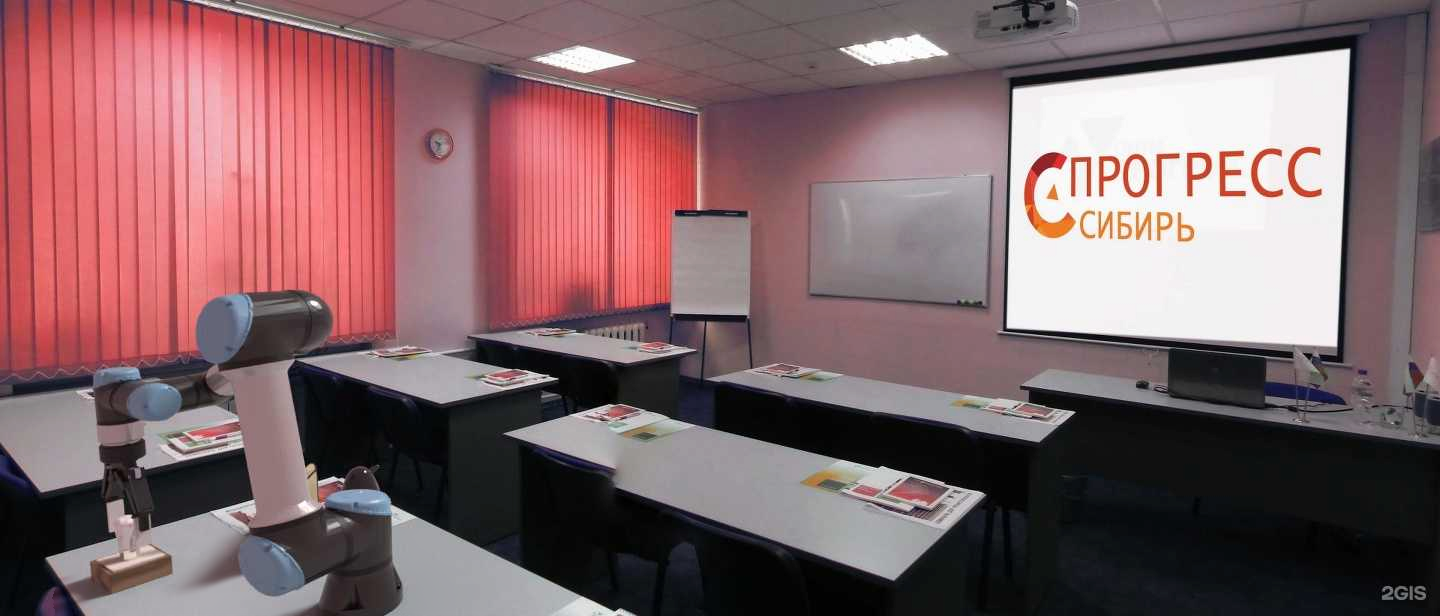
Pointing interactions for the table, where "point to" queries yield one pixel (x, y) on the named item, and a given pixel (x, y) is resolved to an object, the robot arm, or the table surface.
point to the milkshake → (126, 538)
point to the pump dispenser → (361, 479)
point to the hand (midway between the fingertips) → (130, 537)
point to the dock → (131, 569)
